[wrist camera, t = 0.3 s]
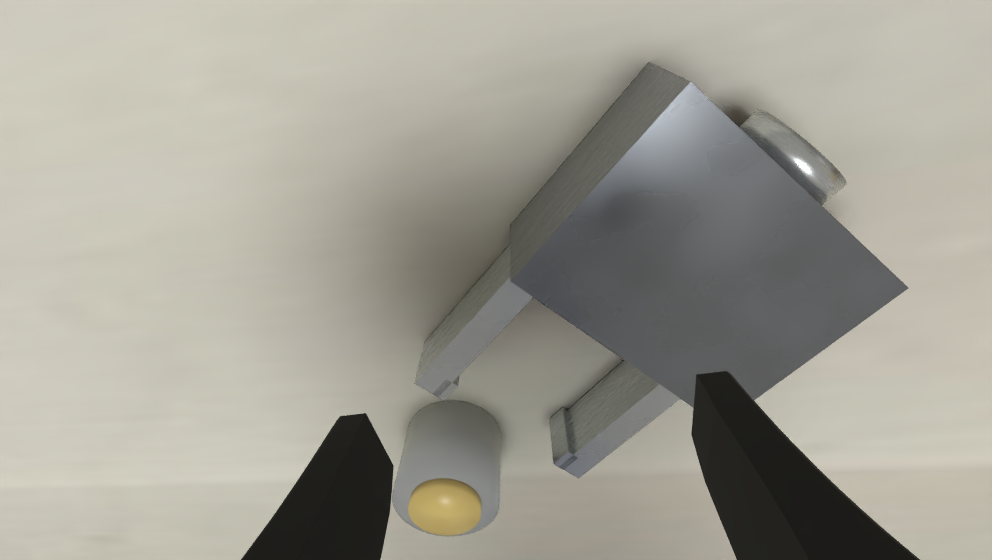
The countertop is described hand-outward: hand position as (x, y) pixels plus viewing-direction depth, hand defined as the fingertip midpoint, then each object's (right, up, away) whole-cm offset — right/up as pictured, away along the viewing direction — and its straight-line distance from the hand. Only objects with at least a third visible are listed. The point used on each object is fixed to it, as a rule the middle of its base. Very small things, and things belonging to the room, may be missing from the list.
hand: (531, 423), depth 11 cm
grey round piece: (-3, -5, +15) cm, 16 cm away
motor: (+4, +3, +10) cm, 11 cm away
